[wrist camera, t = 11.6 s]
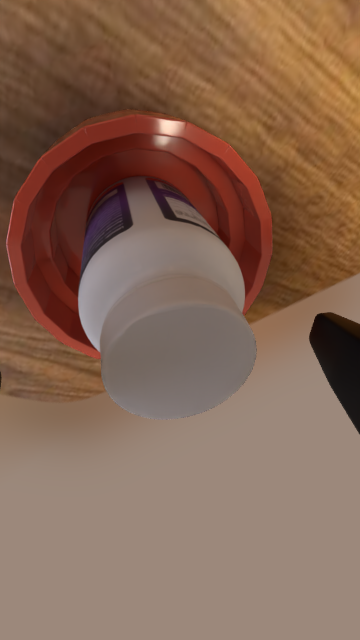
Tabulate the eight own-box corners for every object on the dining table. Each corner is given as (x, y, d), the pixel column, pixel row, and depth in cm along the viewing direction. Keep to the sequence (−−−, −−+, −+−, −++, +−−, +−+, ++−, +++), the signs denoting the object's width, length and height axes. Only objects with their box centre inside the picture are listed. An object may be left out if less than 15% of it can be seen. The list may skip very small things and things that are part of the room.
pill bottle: (105, 291, 17) (106, 455, 9) (69, 187, 14) (26, 308, 6) (202, 268, 17) (280, 409, 10) (189, 162, 14) (291, 246, 6)
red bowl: (262, 254, 18) (300, 294, 15) (116, 339, 20) (119, 394, 16) (177, 52, 12) (207, 37, 9) (-22, 195, 14) (-65, 231, 10)
